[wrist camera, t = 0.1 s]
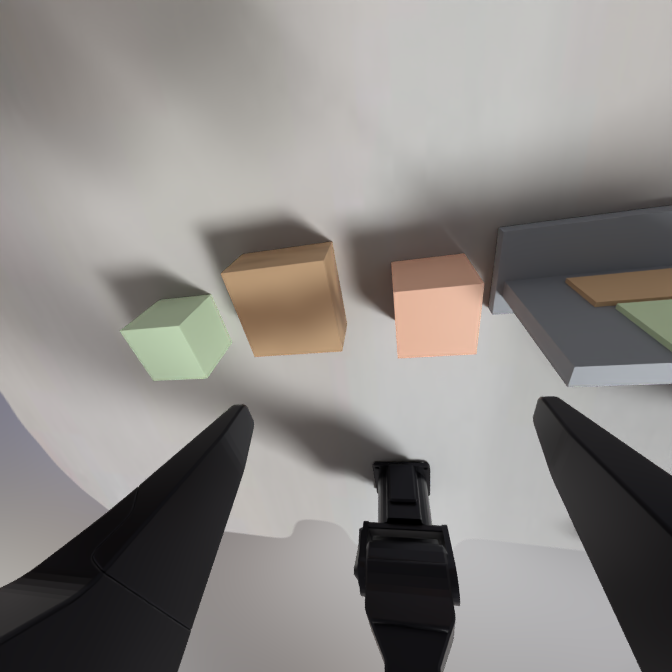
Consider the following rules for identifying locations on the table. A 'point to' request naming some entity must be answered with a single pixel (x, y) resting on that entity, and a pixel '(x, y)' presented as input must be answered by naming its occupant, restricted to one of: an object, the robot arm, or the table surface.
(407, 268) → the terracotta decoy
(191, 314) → the sage block
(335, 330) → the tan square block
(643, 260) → the card
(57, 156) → the table surface
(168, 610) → the robot arm
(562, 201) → the table surface
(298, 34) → the table surface
